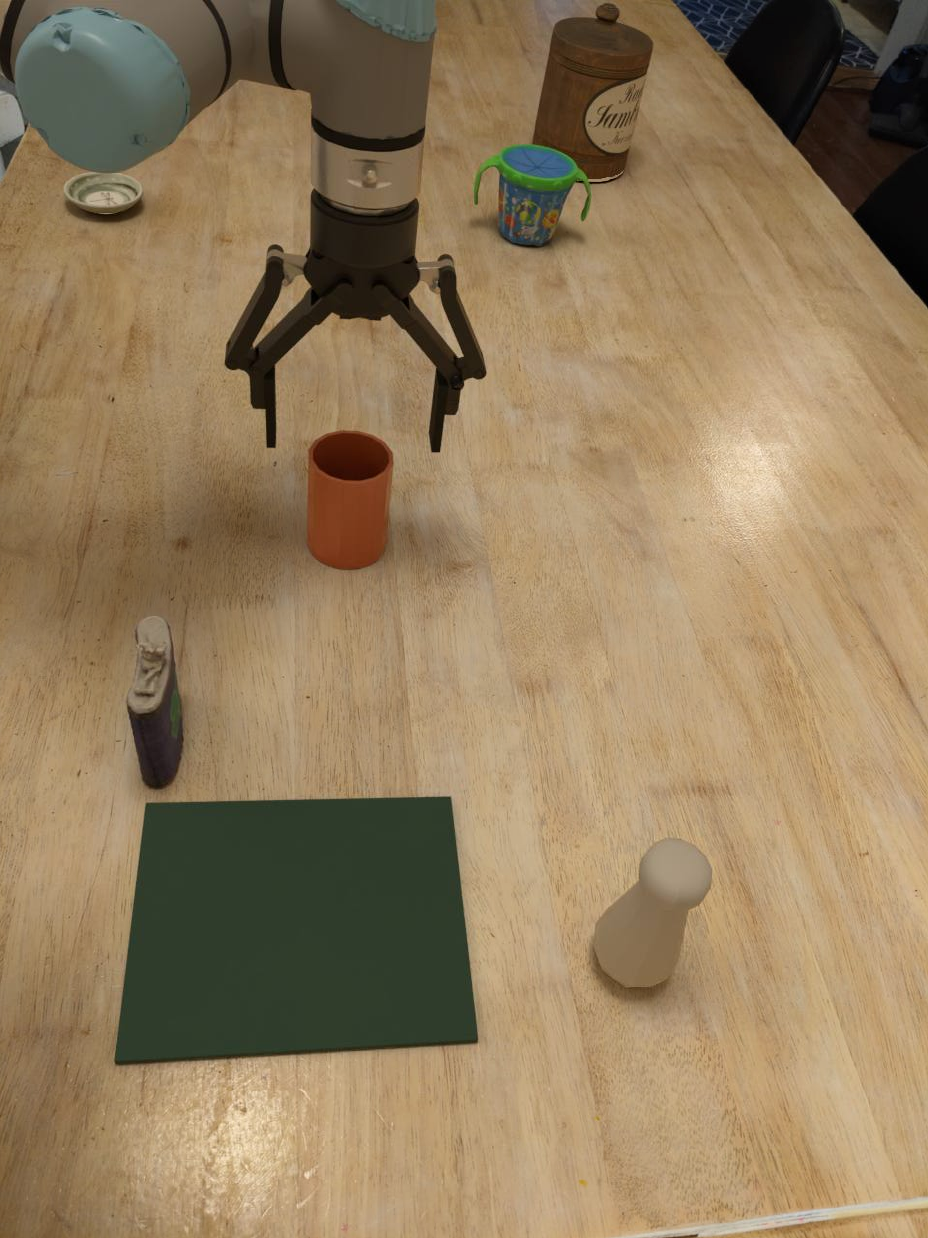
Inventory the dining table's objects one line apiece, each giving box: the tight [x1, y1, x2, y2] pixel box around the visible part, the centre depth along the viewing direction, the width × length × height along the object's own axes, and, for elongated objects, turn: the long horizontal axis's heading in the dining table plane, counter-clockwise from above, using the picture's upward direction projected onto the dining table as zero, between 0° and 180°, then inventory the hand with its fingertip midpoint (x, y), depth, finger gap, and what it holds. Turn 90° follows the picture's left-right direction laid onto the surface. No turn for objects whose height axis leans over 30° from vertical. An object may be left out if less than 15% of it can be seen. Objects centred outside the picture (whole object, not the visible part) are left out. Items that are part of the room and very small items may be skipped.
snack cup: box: [473, 143, 592, 247], centre depth 136 cm, size 16×10×10 cm
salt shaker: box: [592, 837, 713, 989], centre depth 65 cm, size 6×6×13 cm
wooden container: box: [531, 2, 654, 179], centre depth 151 cm, size 15×15×22 cm
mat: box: [113, 795, 479, 1065], centre depth 69 cm, size 22×18×1 cm
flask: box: [125, 615, 184, 790], centre depth 73 cm, size 9×3×11 cm, turn 7°
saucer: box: [62, 171, 144, 214], centre depth 130 cm, size 10×10×2 cm
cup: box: [306, 429, 395, 570], centre depth 91 cm, size 7×7×10 cm
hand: (353, 440), depth 86 cm, fingers open, 13 cm apart
